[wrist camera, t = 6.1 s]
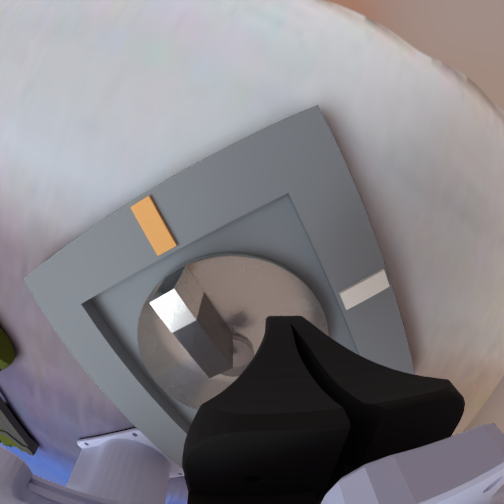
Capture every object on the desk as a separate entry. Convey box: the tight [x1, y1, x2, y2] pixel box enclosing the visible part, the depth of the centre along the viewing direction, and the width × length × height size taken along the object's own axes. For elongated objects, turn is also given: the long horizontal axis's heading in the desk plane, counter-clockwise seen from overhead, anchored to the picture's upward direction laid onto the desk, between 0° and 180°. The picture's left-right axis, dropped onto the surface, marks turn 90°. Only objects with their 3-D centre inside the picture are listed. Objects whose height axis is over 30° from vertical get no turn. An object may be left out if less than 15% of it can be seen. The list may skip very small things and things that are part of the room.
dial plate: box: [23, 105, 415, 469], centre depth 19 cm, size 21×21×2 cm
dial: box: [137, 252, 329, 410], centre depth 17 cm, size 12×12×4 cm
